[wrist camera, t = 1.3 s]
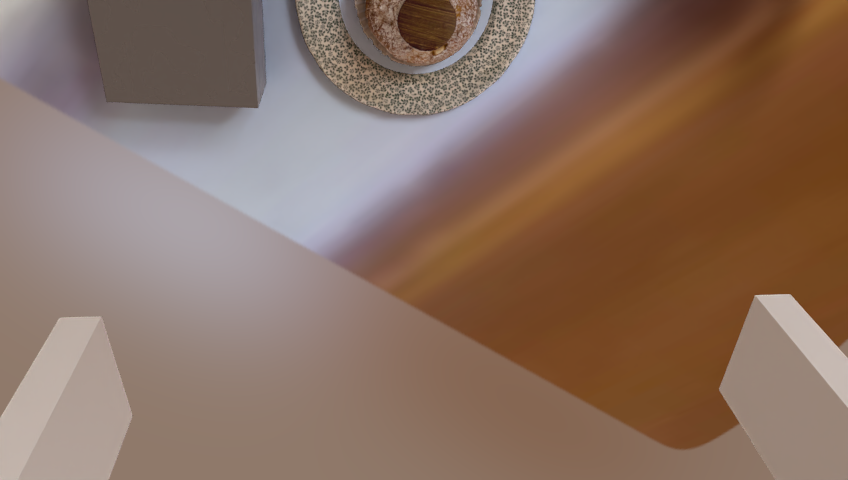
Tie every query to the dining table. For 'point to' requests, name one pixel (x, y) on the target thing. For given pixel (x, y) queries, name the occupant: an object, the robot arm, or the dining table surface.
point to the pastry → (415, 49)
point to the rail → (181, 51)
